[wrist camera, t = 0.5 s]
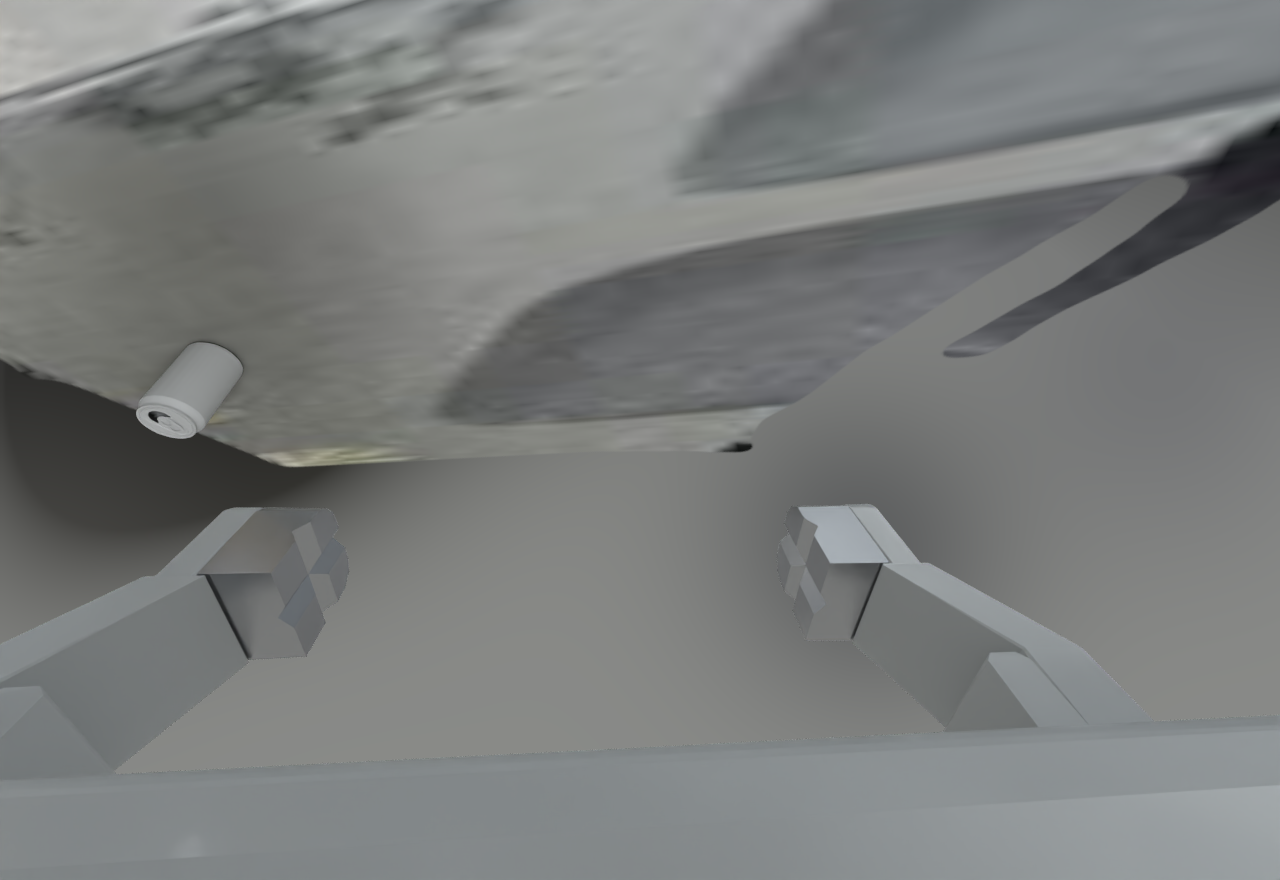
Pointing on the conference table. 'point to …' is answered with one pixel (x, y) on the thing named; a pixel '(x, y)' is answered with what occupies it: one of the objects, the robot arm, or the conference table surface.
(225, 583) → the robot arm
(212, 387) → the beverage can
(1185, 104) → the conference table surface
